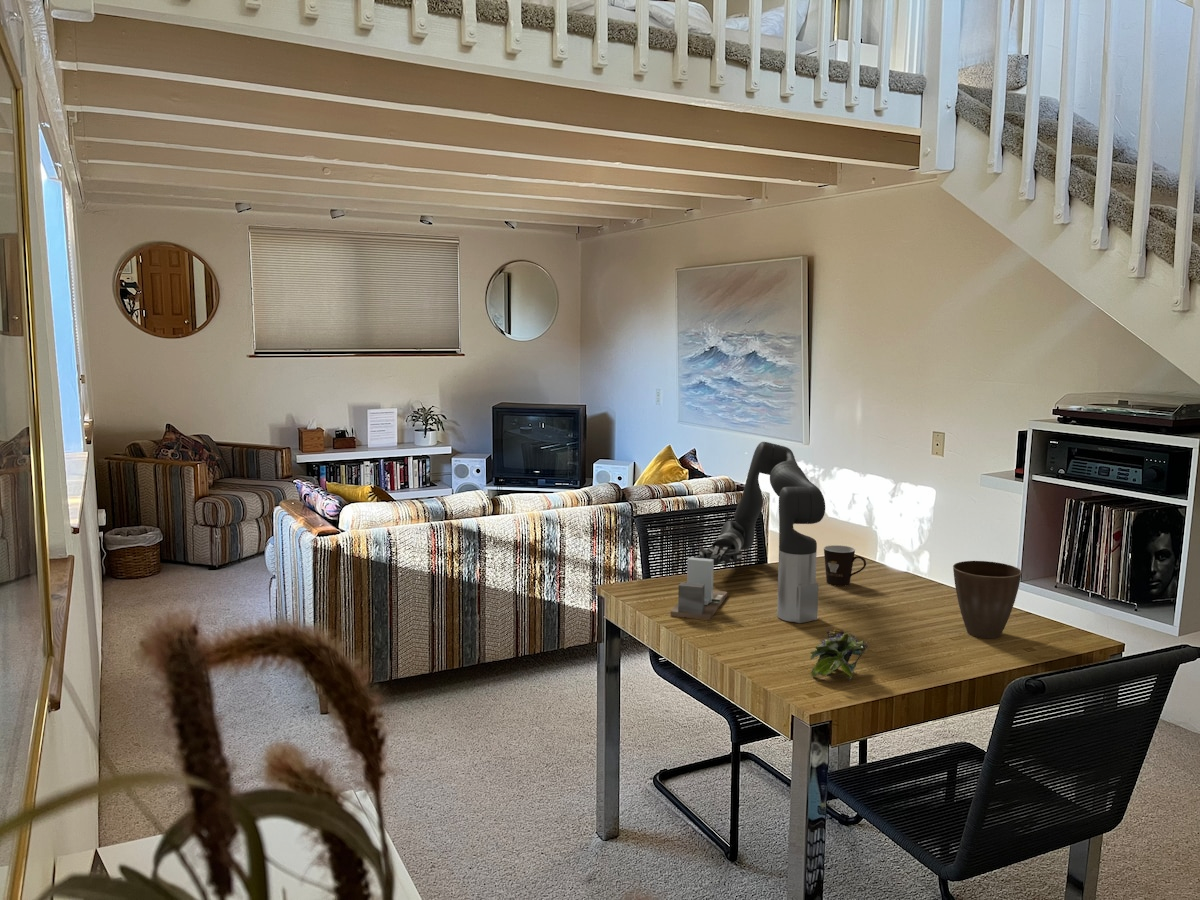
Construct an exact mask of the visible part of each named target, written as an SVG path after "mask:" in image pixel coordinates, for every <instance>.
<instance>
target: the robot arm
mask: <svg viewBox="0 0 1200 900" xmlns="http://www.w3.org/2000/svg"><path fill="white" fill-rule="evenodd" d="M793 452H794V451H792V449H790V448H789V447H788V446H784V445H780V444H776V443H772V442H769V441H761V442H760V443H758V445H757V446H756V448H755V449H754V452H753V454H752V455H753V456H752V459H751V462H750V465H749V469H748V473H747V475H746V479H745V480H746V481H745V485H744V487H743V492H742V495H741V497H740V499H739V502H738V504H737V506H736V510H735V512H734V513H733V514H734V515H733V518H734V520H727V521H726V522H725V523H724V524H723V525H722V527H721V529H720V534H719V536H718V537H717V538H716V539H715V540H714V541H713V543H712V545H711V546H710V547H708V548H707V549H706V548H703V547H700V548H699V558H704V559H714V566H718V565H720V564H728V563H729V564H730V563H734V562H740V561H742V560H743V551H746V550H748V549H750V548H751V547H752V546H753V543H754V541H755V533H756V523H757V521H758V518H759V515H761V511H762V509H763V506H764V498H763V497H764V496H763V494H762V490H761V486H760V482H759V477H760V476H759V475H760V474H763V475H768V476H769V484H770V486H771V488H772V489H773V491H774V493H775V494H776V496H777V497H778V518H779V520H778V524H779V525H778V526H779V527H778V528H779V529H778V565H777V566H778V567H777V568H778V569H777V574H778V575H777V597H776V598H777V601H776V602H777V603H776V604H777V605H776V606H777V609H776V617H778V619H780V620H783V621H785V622H790V623H791V622H792V623H796V624H802V623H809V622H811V621H817V620H818V612H819V611H818V608H819V607H818V605H819V604H818V603H819V583H818V581H816V577H817V575H816V574H817V553H818V552H817V550H818V549H817V548H818V545H817V541H816V540H815V538H813V537H812V536H808V535H805V534H803V533H801V532H799V531H797V530H795V528H794V525H813V524H817V523H820V522H821V521H822V520H823V518H824V516H825V513H826V501H825V497H824V495H823V493H822V491H821V490H820V488H819V487H818V486H816V485H815V484H814V483H812V482H811V481H810V480H809V478H808V477H807V476H806V474H805V473H804V471H803V469H801V467H800V466H799V464H798V463H797V461H796V459H795V455H794V453H793ZM741 550H742V551H741Z"/></svg>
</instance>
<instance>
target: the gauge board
mask: <svg viewBox="0 0 1200 900" xmlns="http://www.w3.org/2000/svg"><path fill="white" fill-rule="evenodd" d="M677 597H678V598H677V599H678V602H677V604H676V605H675V606H673V608H672V609H671V610H670V617H675V616H677V617H678V618H684V617H687V619H695V620H703V619H705V620H704V621H710V620H711V619H712V618H713V616H714V615H715V614H716V612H717V611H718V610H719V608H720V607H721V605H722V604H723V603H724V601H725V600H726V599H725V598H727V597H728V591H724V590H714V589H713V599H719V600H720V602H714V601H712V602H711V603H709V604H708V605H704V598H705V584H696V583H687V582H683V581H681V582H680V583H679V584H678V596H677ZM722 602H723V603H722ZM719 606H720V607H719ZM679 616H680V617H679ZM710 618H711V619H710Z"/></svg>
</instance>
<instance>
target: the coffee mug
mask: <svg viewBox="0 0 1200 900" xmlns="http://www.w3.org/2000/svg"><path fill="white" fill-rule="evenodd" d="M855 551H856V549H855V548H854V547H851V546H847V545H841V544H840V545H838V544H834V545H831V544H830V545H826V546H824V547H823V554H824V567H825V577H826V578H825V580H826V583H827V584H828V585H830V584H831V586H834V585H836V587H847V586H849V585H850V584H851V577H852V576H853V575H856V574H858V573H860V572H862V571H863V570H864V569H865V568H866V566H867V562H866V559H865V558H864V557H863V556H860V555H856V556H855ZM856 559H861V561H862V562H863V566H862V567H861V568H860V569H858V570H856V571H854V572H852V571H853V565H854V562H855V560H856ZM845 585H846V586H845Z"/></svg>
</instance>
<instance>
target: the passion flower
mask: <svg viewBox="0 0 1200 900" xmlns="http://www.w3.org/2000/svg"><path fill="white" fill-rule="evenodd" d="M820 642H821V644H820V643H817V645H816V646H814V648H815V650H810V651H809V652H810V654H811V656H810V661H812V659H814V658H817V657H818V658H817V661H816V663H815V665H814V667H812V669H811V671H810V673H811V677H812V678H813V677H817V676H819V675H821V676H822V677H826V676H828V675H830V674H832V673H833V672H835V671H836V670H837V669H839V668H841V669H842V672H844V673H845V674H846V675H847V676H849V678H848V679H849V680H848V683H851V679H852V677H853V672H854V670H855V668H856V666H857V663H858V662H859V660H860V658H861V657H862V656H863V654H864V653H865V651H867V649H868V647H869V645H868V641H866V642H865V640H861V641H858V637H856V636H855V635H850V634H849V633H848V632H846V633H845V631H844V630H838V629H833V631H831V630H827V631H826V638H824V640H822V641H821V640H820ZM852 655H856V656H858V657H857V658H856V660H855V661H854V662H853V663H849V661H850V658H851V657H852Z"/></svg>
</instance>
